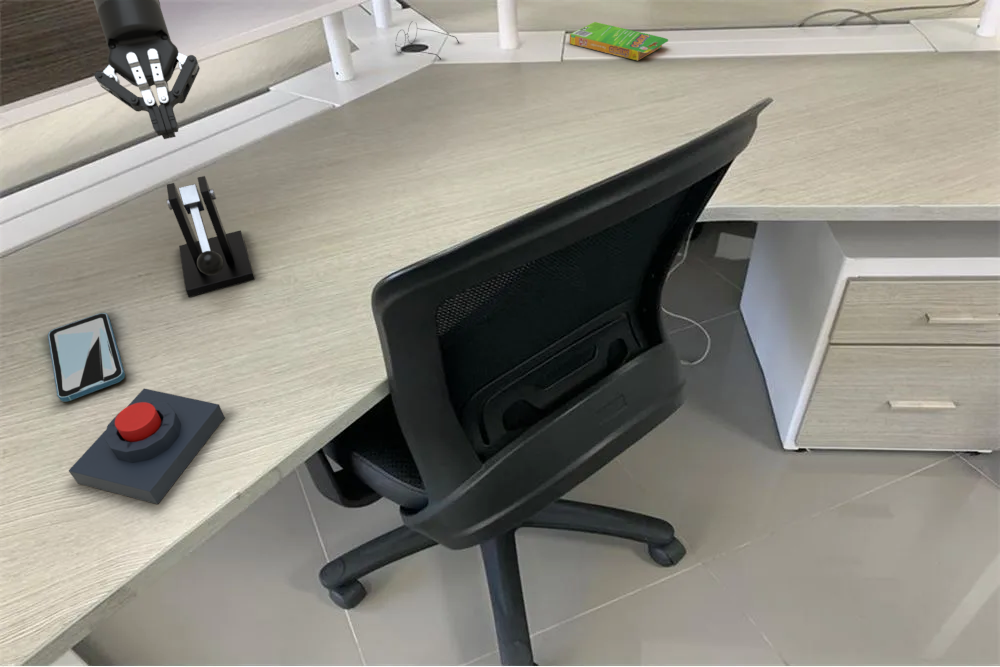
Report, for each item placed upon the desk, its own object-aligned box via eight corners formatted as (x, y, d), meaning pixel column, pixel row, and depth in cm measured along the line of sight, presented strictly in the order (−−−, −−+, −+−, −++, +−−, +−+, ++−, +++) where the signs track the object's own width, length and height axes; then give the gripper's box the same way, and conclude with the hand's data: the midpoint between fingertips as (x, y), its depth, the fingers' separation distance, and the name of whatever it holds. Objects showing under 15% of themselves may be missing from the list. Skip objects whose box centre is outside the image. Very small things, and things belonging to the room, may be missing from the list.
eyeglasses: (461, 41, 165) (459, 19, 162) (439, 61, 156) (437, 38, 153) (418, 38, 168) (415, 16, 165) (394, 57, 160) (391, 34, 156)
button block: (158, 504, 71) (142, 480, 68) (77, 483, 73) (59, 459, 70) (225, 417, 79) (213, 393, 76) (151, 401, 82) (137, 377, 79)
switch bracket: (255, 279, 98) (227, 200, 90) (188, 297, 96) (153, 217, 88) (243, 236, 107) (216, 160, 98) (181, 252, 104) (149, 175, 96)
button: (145, 445, 72) (138, 434, 71) (113, 438, 73) (105, 427, 72) (169, 417, 75) (163, 406, 74) (138, 410, 76) (131, 399, 74)
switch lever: (228, 275, 93) (223, 264, 90) (203, 282, 92) (197, 271, 89) (204, 194, 96) (198, 181, 93) (179, 199, 96) (173, 186, 93)
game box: (594, 34, 167) (669, 48, 155) (569, 47, 162) (645, 62, 150) (594, 21, 165) (670, 34, 153) (568, 33, 160) (645, 48, 148)
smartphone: (106, 310, 93) (124, 375, 83) (109, 316, 94) (128, 381, 84) (46, 331, 91) (57, 400, 81) (50, 336, 91) (61, 406, 81)
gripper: (63, 1, 85) (105, 136, 85) (176, -16, 89) (217, 113, 88) (83, 33, 93) (122, 157, 92) (187, 16, 96) (225, 135, 96)
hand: (168, 135), depth 90 cm, fingers closed
